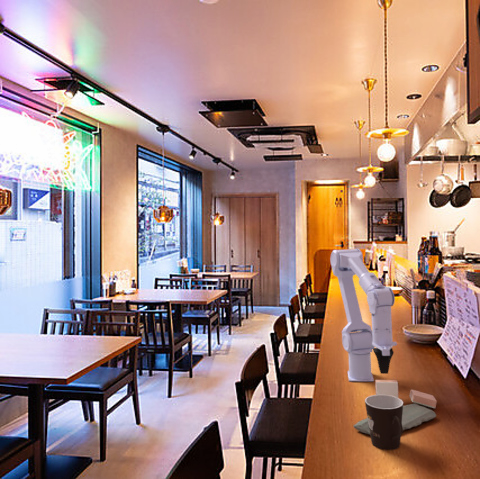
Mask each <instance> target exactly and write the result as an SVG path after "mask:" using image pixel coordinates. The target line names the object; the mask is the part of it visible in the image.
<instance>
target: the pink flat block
mask: <svg viewBox="0 0 480 479" xmlns="http://www.w3.org/2000/svg"><path fill="white" fill-rule="evenodd" d="M409 398H410V400H411V402H412V403H413V404H417V405H420V406H424V407H428V408H433V409H436V406H437V402H438V401H437V400H436V398H435V396H434V395H432V394H429V393H427V392H426V393H425V392H421V391H419V390H415V389H411V388H410V391H409Z"/></svg>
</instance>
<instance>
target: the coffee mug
mask: <svg viewBox="0 0 480 479" xmlns="http://www.w3.org/2000/svg"><path fill="white" fill-rule="evenodd" d="M364 404H365V410H366V411H365V412H366V416H367V417H366V418H368V423H369V430H370V434H369V435H370V440H371V444H372V446H373V447H375V448H376V449H380V450H383V451H395V450H397V449H399V448H400V446H401V437H402V434H403V431H404V430H403V428H402V413H403V406H404V401H403V399H401V398H399V397H398V398H397V397H394V396H390V395H376V394H374V395H373V394H372V395H369V396H367V397H366V398H364Z"/></svg>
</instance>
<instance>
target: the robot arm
mask: <svg viewBox="0 0 480 479" xmlns="http://www.w3.org/2000/svg"><path fill="white" fill-rule="evenodd" d="M363 256H364V255H363V252H362V250H360V249H359V248H352V249H351V248H349V249H333V250H332V252H331V254H330V260H329V261H330V265H331V271H332V273H333V276H334V277H337V279H338V284H339V289H340V294H341V298H342V302H343V306H344V312H345V315H346V316H345V317H346V321H347V323H346V325H345V326H344V327H343V329H342V330H341V342H342V346H343V349H344V351H346V352H347V354H348V370H347V377H348V382H375V380H374V376H373V372H372V360H371V359H372V358H371V353H374V355H375V356H376V360H377V364H378V369H379V372H380V374H381V375H382V374H383V375H384V374H389V370H390V365H391V364H390V363H391V360H392V358H393V356H394V354H395V352H394V350H393V347H394V346H395V347H396V346H398V343H397V341H393V323H392V307H393V306H394V304H395V301H396V300H395V299H396V298H395V294H394V291H393V289H392V288H391V287H389V286H387V285H384V284H382V282H381V281H380V280H379V278H378V277H377V275H376V274H375V273H374V272H369V270H368V268H367V267H366V264H364V259H363V258H364V257H363ZM355 275H356V277H358V279H359V280H358V284H359V286H360V287H361V289H362V290H363V292H364V293H365V294H366V301H367V305H368V308H369V310H368V311H369V313H370V314H371V325H369V324H368V323H366V322H364V321H363V316H362V312H361V309H360V308H361V307H360V304H359V299H358V295H357V291H356V288H355V284H354V276H355Z"/></svg>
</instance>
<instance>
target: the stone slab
mask: <svg viewBox="0 0 480 479" xmlns="http://www.w3.org/2000/svg"><path fill="white" fill-rule="evenodd" d="M436 417H437V413H436V412H435V411H433V410H432V409H430V408H427V407H426V406H424V405H420V404H418V403H411V404H406V405H403V413H402V428H403V431H405V430H408V429H411V428H413V427H417V426H419V425H422V423H424V422H429V421H431V420H433V419H434V418H436ZM353 428H354V429H355V430H357V431H359V432H360V433H363V434H367V435H370V430H369V423H368V417H366V418H364V419H361V420H359V421H357V423H355V424H353Z"/></svg>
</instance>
